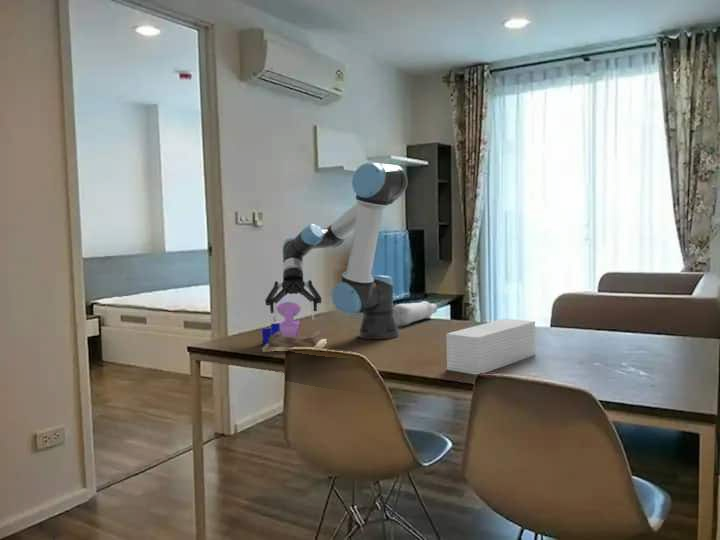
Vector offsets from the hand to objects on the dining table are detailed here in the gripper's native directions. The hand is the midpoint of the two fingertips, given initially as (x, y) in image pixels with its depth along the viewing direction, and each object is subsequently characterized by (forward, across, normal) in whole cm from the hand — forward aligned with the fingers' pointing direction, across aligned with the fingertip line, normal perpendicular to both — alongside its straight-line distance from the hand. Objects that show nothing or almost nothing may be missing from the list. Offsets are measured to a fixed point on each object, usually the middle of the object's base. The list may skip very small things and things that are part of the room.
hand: (293, 318), depth 223 cm
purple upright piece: (+8, +1, -4) cm, 9 cm away
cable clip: (0, +9, -14) cm, 17 cm away
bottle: (-21, -51, -35) cm, 65 cm away
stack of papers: (+35, -60, +22) cm, 73 cm away
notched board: (+10, 0, -4) cm, 10 cm away
